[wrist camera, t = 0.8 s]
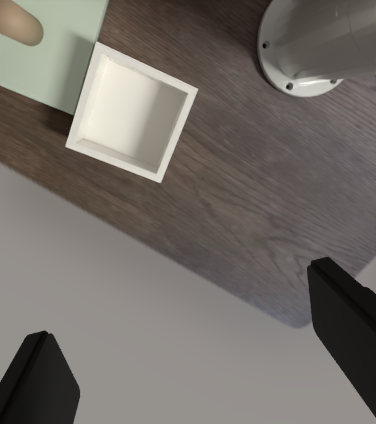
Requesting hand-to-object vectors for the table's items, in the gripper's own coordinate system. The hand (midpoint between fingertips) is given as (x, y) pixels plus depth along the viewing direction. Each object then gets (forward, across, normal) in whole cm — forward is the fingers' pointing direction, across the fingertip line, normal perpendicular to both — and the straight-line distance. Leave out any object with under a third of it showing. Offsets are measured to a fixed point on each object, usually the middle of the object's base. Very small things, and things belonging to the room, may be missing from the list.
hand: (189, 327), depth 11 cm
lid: (+30, +10, -18) cm, 36 cm away
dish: (+30, +2, -7) cm, 31 cm away
